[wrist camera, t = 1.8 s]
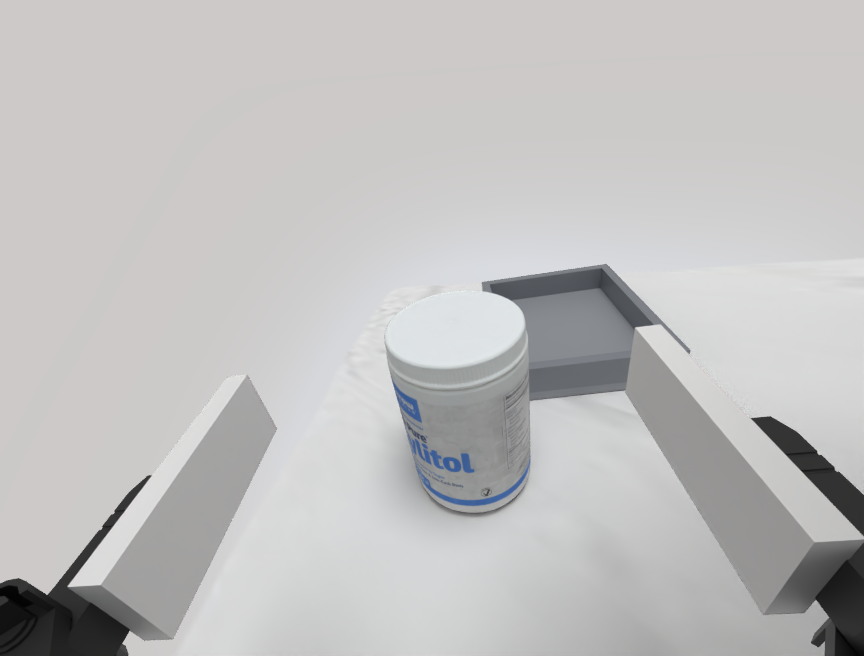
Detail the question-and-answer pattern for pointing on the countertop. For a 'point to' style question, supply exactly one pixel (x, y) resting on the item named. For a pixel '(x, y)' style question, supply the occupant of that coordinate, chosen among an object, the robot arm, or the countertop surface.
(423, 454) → the supplement tub
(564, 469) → the countertop surface
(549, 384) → the tray
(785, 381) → the countertop surface
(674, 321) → the countertop surface
